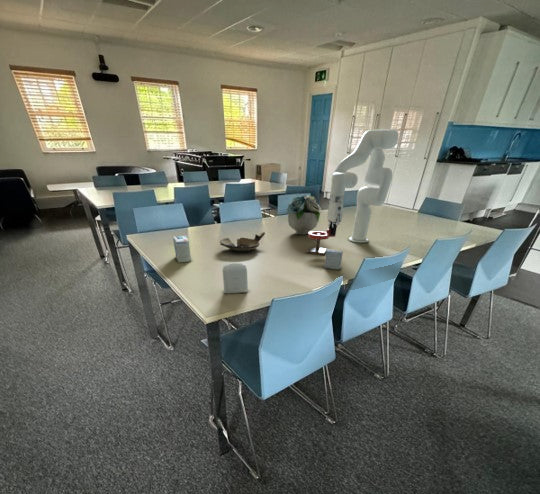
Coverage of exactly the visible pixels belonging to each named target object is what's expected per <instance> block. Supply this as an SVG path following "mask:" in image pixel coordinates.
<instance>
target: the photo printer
mask: <svg viewBox="0 0 540 494" xmlns="http://www.w3.org/2000/svg"><path fill="white" fill-rule="evenodd" d="M222 282H223V292H224V294H239V293H248V292H249V285H248V267H247V265H246V264H245V263H242V262H241V263H240V262H230V263H226V264H224V265H222Z"/></svg>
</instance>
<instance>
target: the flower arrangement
mask: <svg viewBox="0 0 540 494" xmlns="http://www.w3.org/2000/svg"><path fill="white" fill-rule="evenodd" d="M287 213H288V215H287V222H288V225H289V227H290V228H291V229H292V230H294V231H295V233H296V234H297V235H308V233H309V232H311V231H314V229H315V228H317V225H318V223H319V222H320V221H319V220H320V217H321V213H323V210H322V207H321V206H320V205H319V204H318V202H317V198H315V196H314V195H306V194H305V195H300V196H296V197H293V198H292V200H291V201H290V202H289V203H288V205H287V207H286V212H285V214H287Z"/></svg>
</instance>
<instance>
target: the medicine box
mask: <svg viewBox="0 0 540 494" xmlns="http://www.w3.org/2000/svg"><path fill="white" fill-rule="evenodd" d="M343 252H344V251H343V250H338V249H330V248H329V249H328V248H327V251H326V252H325V259H324V267H323V268H324V269H331V270H338V271H340V269H341V266H342V260H343Z"/></svg>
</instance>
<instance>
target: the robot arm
mask: <svg viewBox="0 0 540 494" xmlns="http://www.w3.org/2000/svg"><path fill="white" fill-rule="evenodd" d="M399 138H400V137H399V132H398V130H396V129H369V130H368V129H367V130H366V131H364V133H363V134H362V136H361V137H360V140H359V141H358V143H357V145H356V146H355V148H354V150H353V152H352V153H351V154H349V155H348V156H346V157H345V158H344V159H342V160H341V161H340V162H339V163H338V164H337V166H336V167H335V169H334V172H333V173H332V175H331V185H330V191H329V201H328V202H329V203H328V210H327V217H326V218H327V221H328V229H331V232H330V235H335V236H336V235H337V228H338V226H339V225H340V223H341V222H342V221H343V216H344V215H343V214H344V213H343V212H344V198H345V192H346V189H353V188H354V187H356V186H357V184H358V181H359V177H358V174H356V173H354V172H350V171H349V170H351V169H354V168H356V167H359V166H361V165H364V164H365V163H366V162H367V160H368V158H369V162H368V165H367V169H366V171H365V174H364V183H365V184H367V185H369V186H362V187H361V188H359V189H358V191H357V194H356V210H355V216H354V221H353V227H352V234H351V236H350V237H348V240H349V242H352V243H357V244H364V243H365V244H366V243H368V242H369V238H367V237H368V232H369V227H370V222H371V216H372V209H371V206H373V207H382V205H384V203H385V202H386V199H387V197H388V192H389V190H390V186H391V184H392V180H393V170H392V168H390V167H384V163H385V160H386V155H385V152H384V150H389V149H390V150H391V149H393V148H394V147H395V146H397V144H398V142H399ZM369 156H370V157H369ZM373 186H377V187H373ZM378 186H379V187H378Z"/></svg>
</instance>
